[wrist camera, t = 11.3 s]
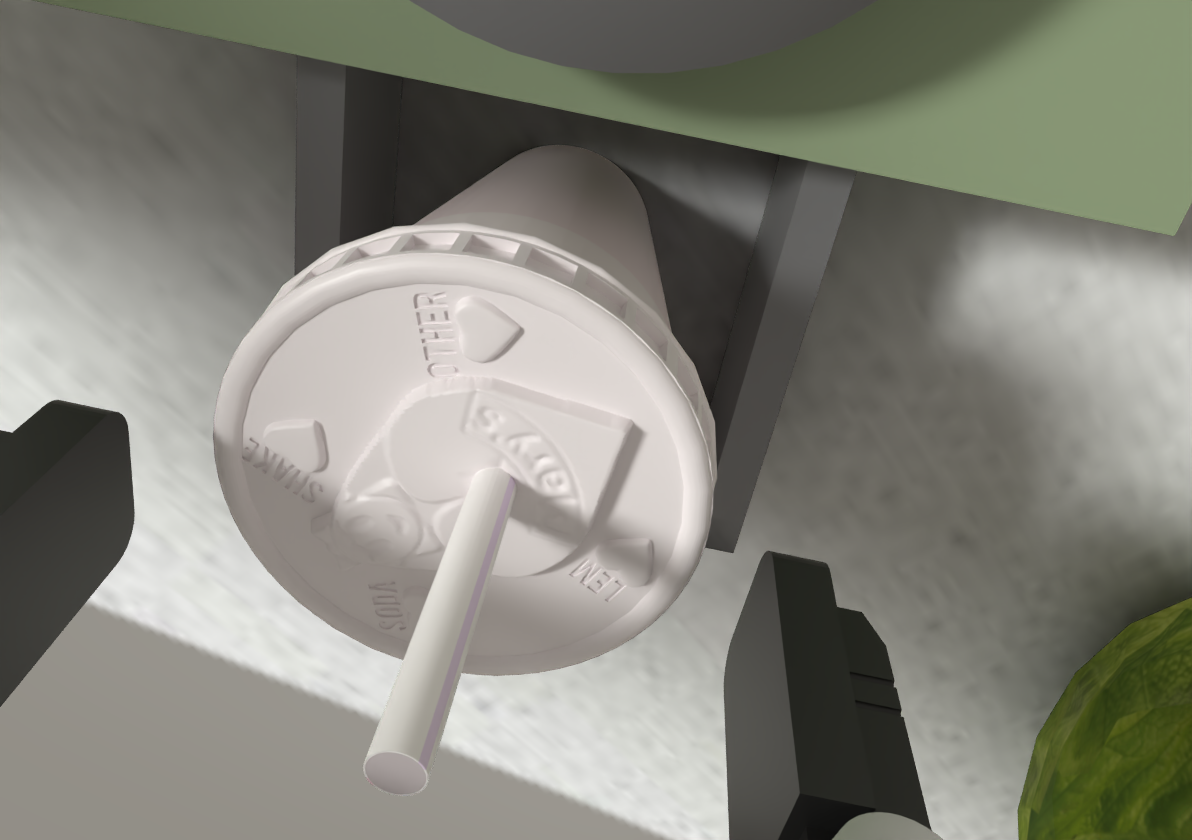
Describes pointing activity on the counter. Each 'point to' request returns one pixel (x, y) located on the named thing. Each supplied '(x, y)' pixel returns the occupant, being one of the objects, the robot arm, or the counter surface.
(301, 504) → the smoothie
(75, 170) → the counter surface
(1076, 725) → the lettuce
